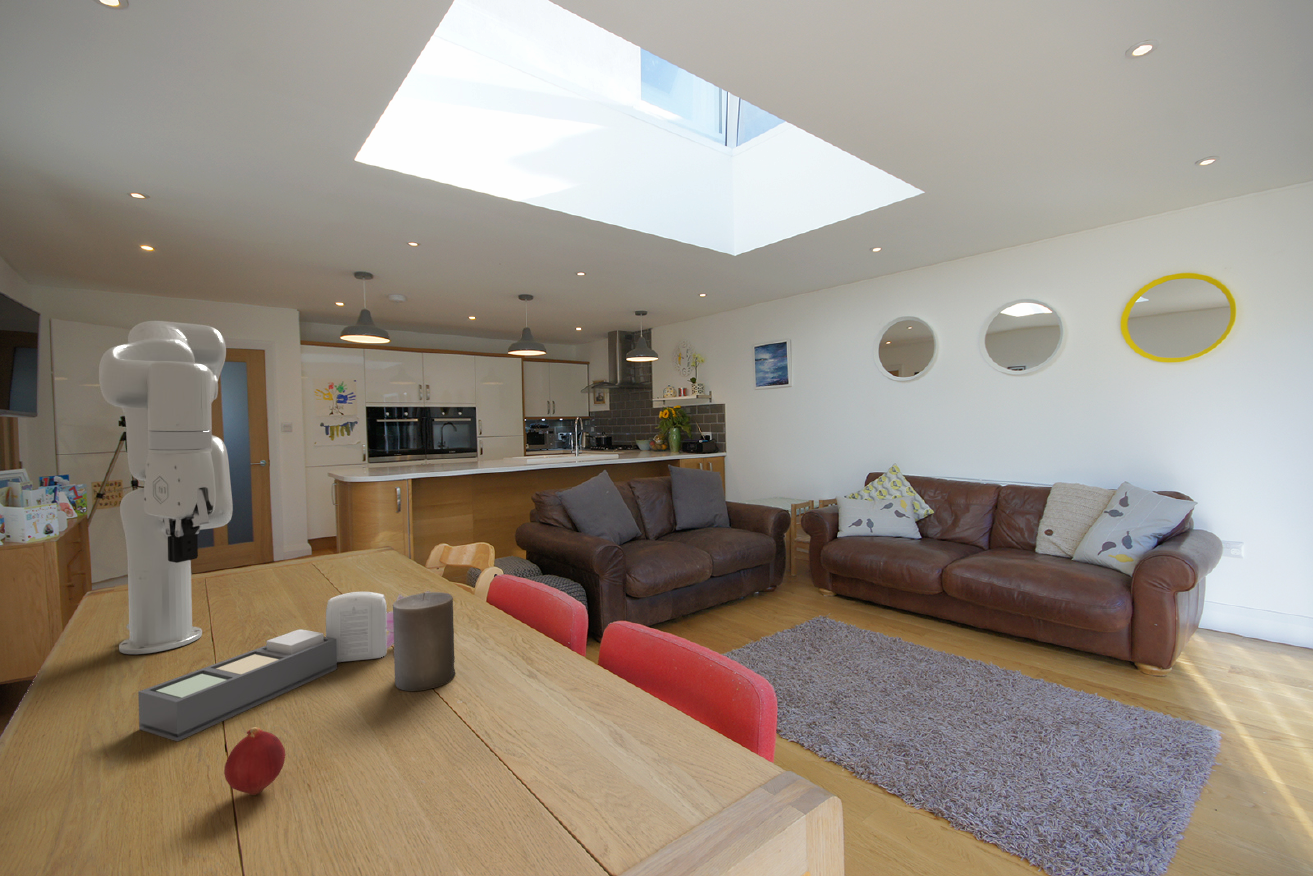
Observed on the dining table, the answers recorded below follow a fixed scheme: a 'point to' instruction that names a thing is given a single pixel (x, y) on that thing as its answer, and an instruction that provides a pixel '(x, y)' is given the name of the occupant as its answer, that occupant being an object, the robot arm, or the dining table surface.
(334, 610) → the photo printer
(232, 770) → the onion
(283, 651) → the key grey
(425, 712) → the dining table surface
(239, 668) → the key sand
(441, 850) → the dining table surface
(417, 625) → the pillar candle
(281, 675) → the grey compartment tray
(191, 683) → the key sage
